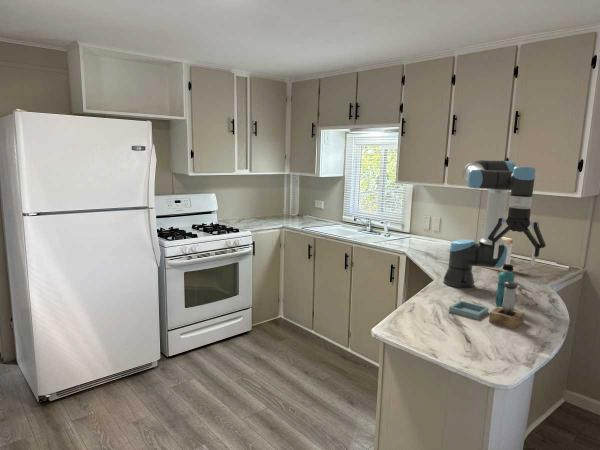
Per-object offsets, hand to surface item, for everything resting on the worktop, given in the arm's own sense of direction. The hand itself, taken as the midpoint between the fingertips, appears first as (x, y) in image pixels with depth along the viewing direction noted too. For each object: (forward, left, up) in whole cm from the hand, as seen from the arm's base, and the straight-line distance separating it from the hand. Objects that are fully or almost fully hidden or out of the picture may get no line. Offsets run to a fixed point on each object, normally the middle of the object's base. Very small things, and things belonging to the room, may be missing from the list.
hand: (513, 261), depth 166 cm
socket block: (0, 0, -26) cm, 26 cm away
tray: (-15, 0, -26) cm, 30 cm away
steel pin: (0, 0, -25) cm, 25 cm away
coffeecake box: (-34, +91, -26) cm, 101 cm away
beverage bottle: (-7, +19, -26) cm, 33 cm away
